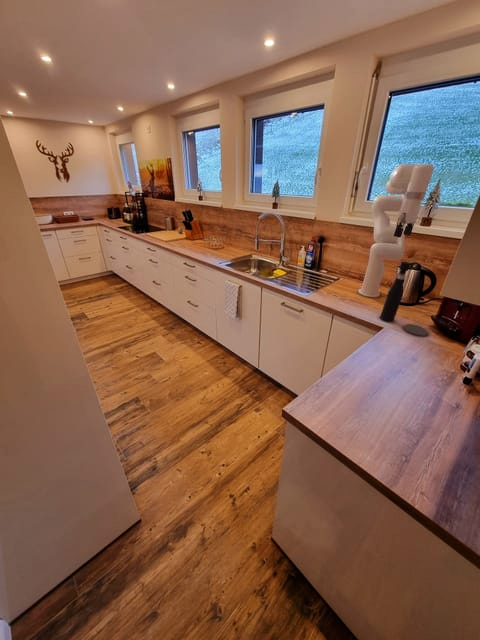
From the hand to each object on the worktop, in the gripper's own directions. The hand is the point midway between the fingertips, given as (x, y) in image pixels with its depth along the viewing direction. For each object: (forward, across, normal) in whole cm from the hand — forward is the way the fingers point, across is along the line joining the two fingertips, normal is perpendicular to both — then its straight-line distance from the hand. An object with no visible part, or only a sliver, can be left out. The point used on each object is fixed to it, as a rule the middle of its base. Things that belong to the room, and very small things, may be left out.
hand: (402, 235), depth 126 cm
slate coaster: (+40, +6, +22) cm, 46 cm away
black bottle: (+40, +6, +8) cm, 42 cm away
